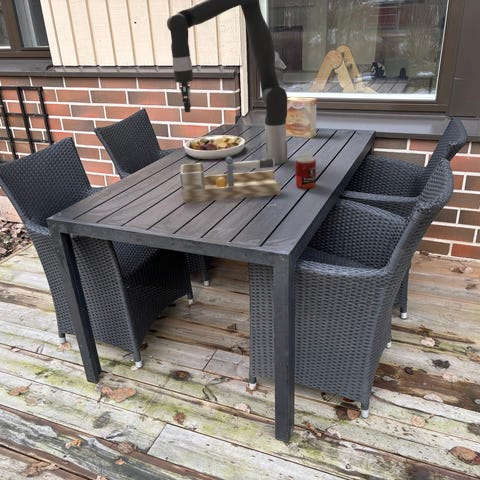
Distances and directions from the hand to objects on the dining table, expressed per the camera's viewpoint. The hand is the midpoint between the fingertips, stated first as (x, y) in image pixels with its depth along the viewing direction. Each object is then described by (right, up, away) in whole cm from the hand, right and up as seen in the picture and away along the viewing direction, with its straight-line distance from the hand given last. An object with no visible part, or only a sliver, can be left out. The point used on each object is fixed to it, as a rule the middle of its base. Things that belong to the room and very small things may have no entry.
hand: (188, 110), depth 197 cm
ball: (+14, -32, -14) cm, 37 cm away
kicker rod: (+26, -32, -12) cm, 43 cm away
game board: (+18, -35, -12) cm, 41 cm away
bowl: (+9, -10, +41) cm, 43 cm away
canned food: (+47, -33, -11) cm, 58 cm away
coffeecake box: (+54, +2, +60) cm, 81 cm away
